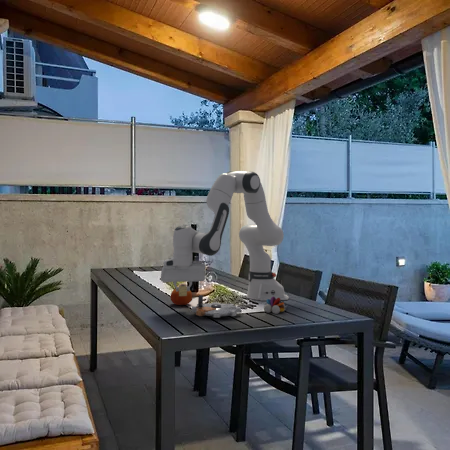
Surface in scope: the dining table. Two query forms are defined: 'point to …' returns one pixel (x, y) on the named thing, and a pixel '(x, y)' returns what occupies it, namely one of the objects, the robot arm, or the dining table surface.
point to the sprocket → (215, 309)
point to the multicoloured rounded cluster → (274, 306)
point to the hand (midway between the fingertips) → (182, 291)
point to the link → (182, 289)
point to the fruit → (180, 298)
